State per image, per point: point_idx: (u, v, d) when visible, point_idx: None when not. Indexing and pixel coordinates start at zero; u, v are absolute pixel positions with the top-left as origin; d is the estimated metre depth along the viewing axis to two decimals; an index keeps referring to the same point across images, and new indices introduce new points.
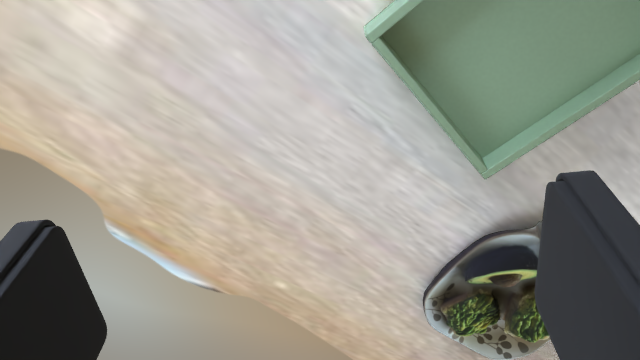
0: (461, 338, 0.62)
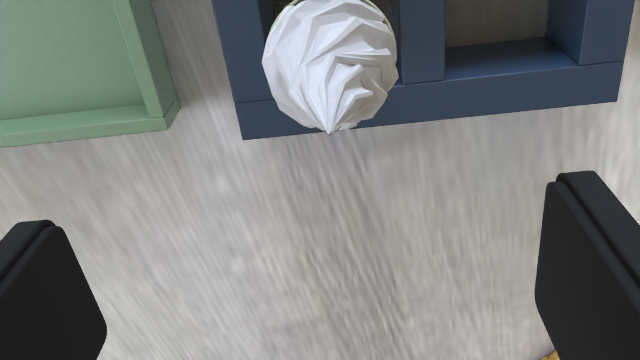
0: None
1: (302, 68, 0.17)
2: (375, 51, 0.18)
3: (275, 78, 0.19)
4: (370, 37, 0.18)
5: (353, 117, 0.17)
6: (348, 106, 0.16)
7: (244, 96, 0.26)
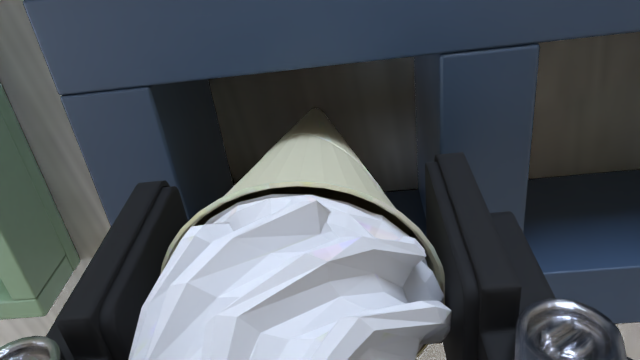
0: None
1: None
2: None
3: None
4: (395, 344, 0.07)
5: None
6: None
7: None
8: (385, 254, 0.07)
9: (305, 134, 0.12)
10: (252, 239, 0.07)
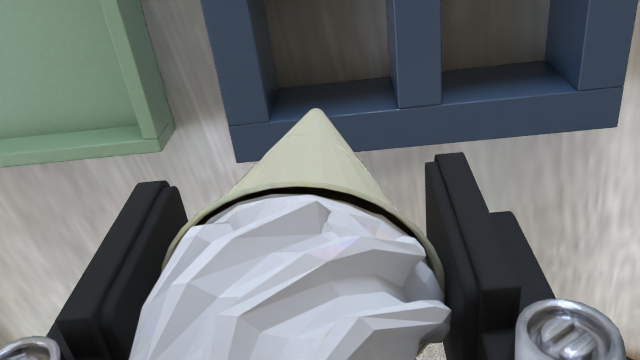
0: None
1: None
2: None
3: None
4: (395, 344, 0.07)
5: None
6: None
7: (238, 118, 0.25)
8: (385, 254, 0.08)
9: (305, 134, 0.12)
10: (252, 239, 0.07)
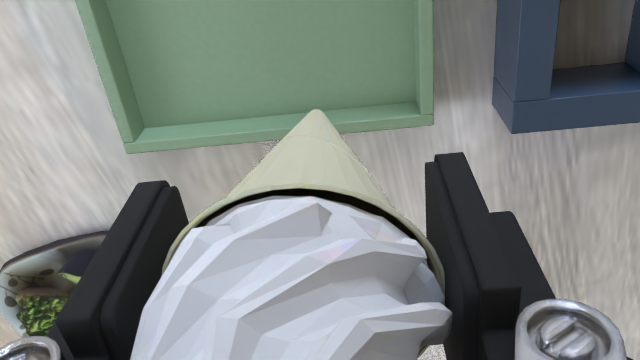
0: None
1: None
2: None
3: None
4: (396, 346, 0.07)
5: None
6: None
7: (524, 96, 0.30)
8: (386, 256, 0.08)
9: (306, 135, 0.12)
10: (253, 241, 0.07)
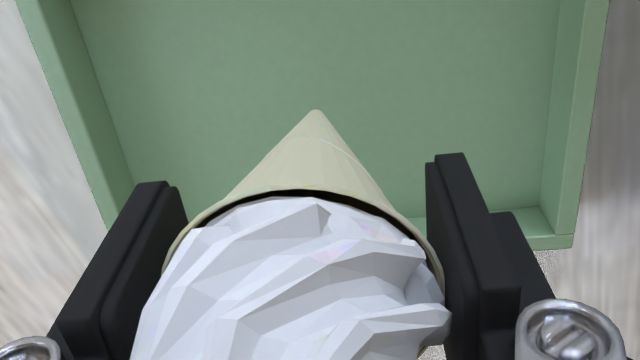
0: None
1: None
2: None
3: None
4: (395, 347, 0.07)
5: None
6: None
7: None
8: (385, 256, 0.08)
9: (305, 136, 0.12)
10: (252, 242, 0.07)
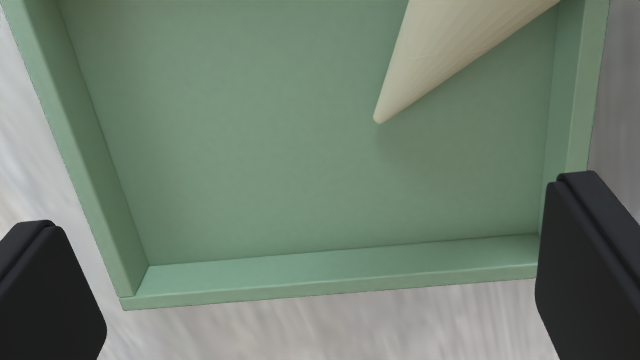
0: None
1: None
2: None
3: None
4: None
5: None
6: None
7: None
8: None
9: (404, 37, 0.18)
10: None
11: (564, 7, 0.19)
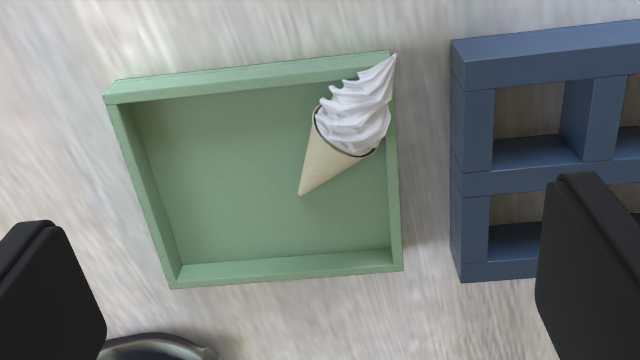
0: None
1: (366, 92, 0.32)
2: (345, 81, 0.35)
3: (370, 129, 0.34)
4: None
5: None
6: None
7: (468, 260, 0.41)
8: (323, 99, 0.35)
9: (305, 163, 0.39)
10: (325, 119, 0.34)
11: (384, 145, 0.40)
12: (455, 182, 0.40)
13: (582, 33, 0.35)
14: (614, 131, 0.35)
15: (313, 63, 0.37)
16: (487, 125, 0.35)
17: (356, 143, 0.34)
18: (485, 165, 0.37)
